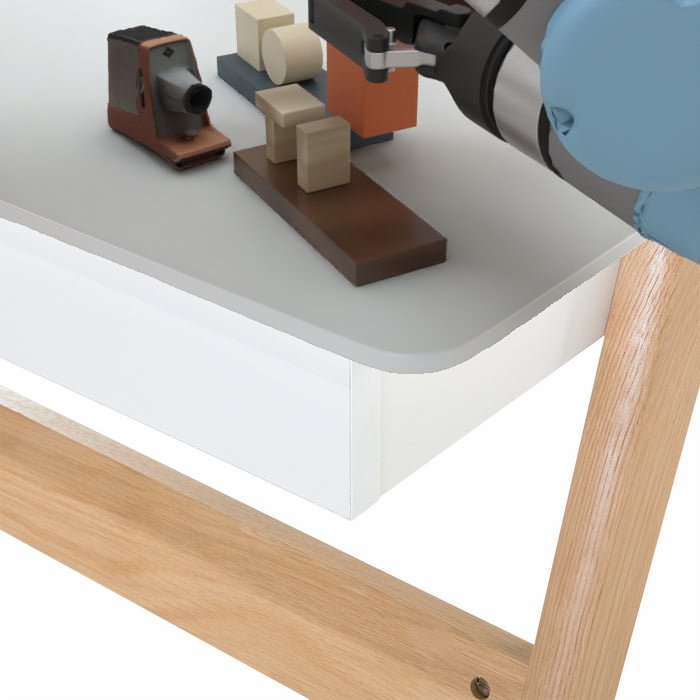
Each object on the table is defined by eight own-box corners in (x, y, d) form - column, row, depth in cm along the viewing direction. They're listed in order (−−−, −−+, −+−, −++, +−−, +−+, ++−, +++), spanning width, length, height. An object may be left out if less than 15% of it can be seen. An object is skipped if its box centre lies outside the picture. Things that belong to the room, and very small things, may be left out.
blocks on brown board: (446, 261, 71) (451, 175, 68) (356, 287, 69) (356, 198, 66) (314, 153, 83) (313, 76, 80) (233, 172, 81) (229, 93, 78)
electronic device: (178, 176, 80) (169, 65, 76) (104, 129, 86) (92, 24, 82) (234, 158, 82) (228, 49, 78) (159, 114, 89) (149, 11, 85)
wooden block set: (393, 138, 85) (395, 62, 82) (316, 156, 83) (316, 78, 80) (287, 61, 97) (285, -8, 94) (217, 75, 95) (213, 4, 92)
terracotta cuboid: (416, 126, 80) (426, -114, 72) (363, 138, 78) (366, -105, 70) (378, 99, 84) (383, -132, 75) (326, 111, 82) (325, -125, 74)
